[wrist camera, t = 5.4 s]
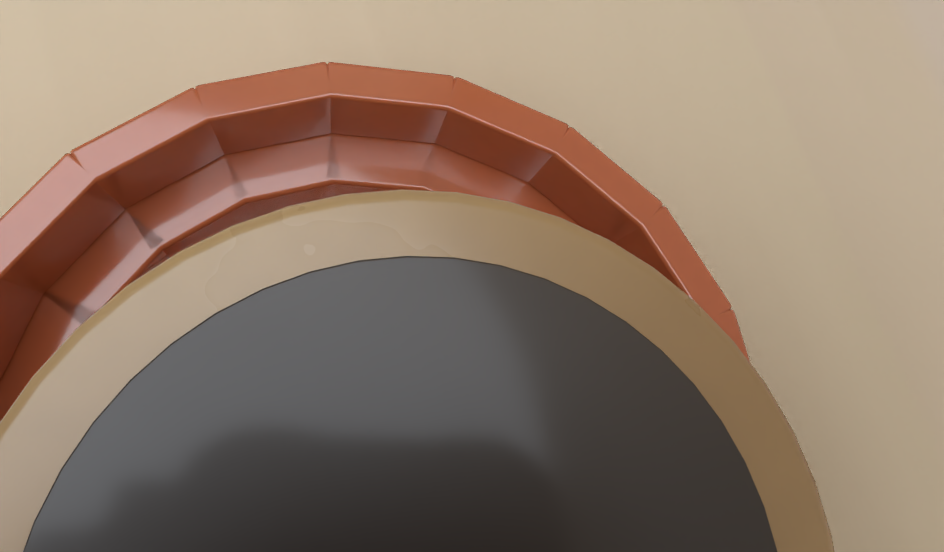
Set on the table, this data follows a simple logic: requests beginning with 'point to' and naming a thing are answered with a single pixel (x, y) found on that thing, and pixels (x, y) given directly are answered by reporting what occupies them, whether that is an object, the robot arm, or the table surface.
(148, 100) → the table surface
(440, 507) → the pen cup
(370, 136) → the dish
